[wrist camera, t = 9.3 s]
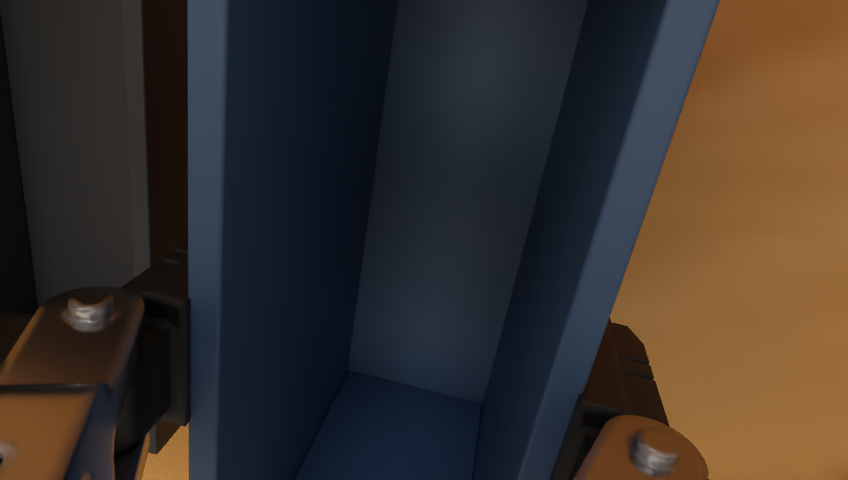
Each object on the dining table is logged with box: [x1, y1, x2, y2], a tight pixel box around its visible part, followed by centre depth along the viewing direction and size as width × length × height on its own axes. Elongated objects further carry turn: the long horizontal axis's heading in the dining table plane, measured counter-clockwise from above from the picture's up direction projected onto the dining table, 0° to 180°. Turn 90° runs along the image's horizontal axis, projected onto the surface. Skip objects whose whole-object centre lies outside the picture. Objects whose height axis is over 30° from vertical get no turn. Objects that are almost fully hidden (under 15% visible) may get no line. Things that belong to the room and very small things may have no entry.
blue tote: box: [188, 0, 720, 480], centre depth 13 cm, size 14×6×10 cm, turn 170°
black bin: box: [0, 0, 188, 454], centre depth 16 cm, size 16×8×4 cm, turn 170°
